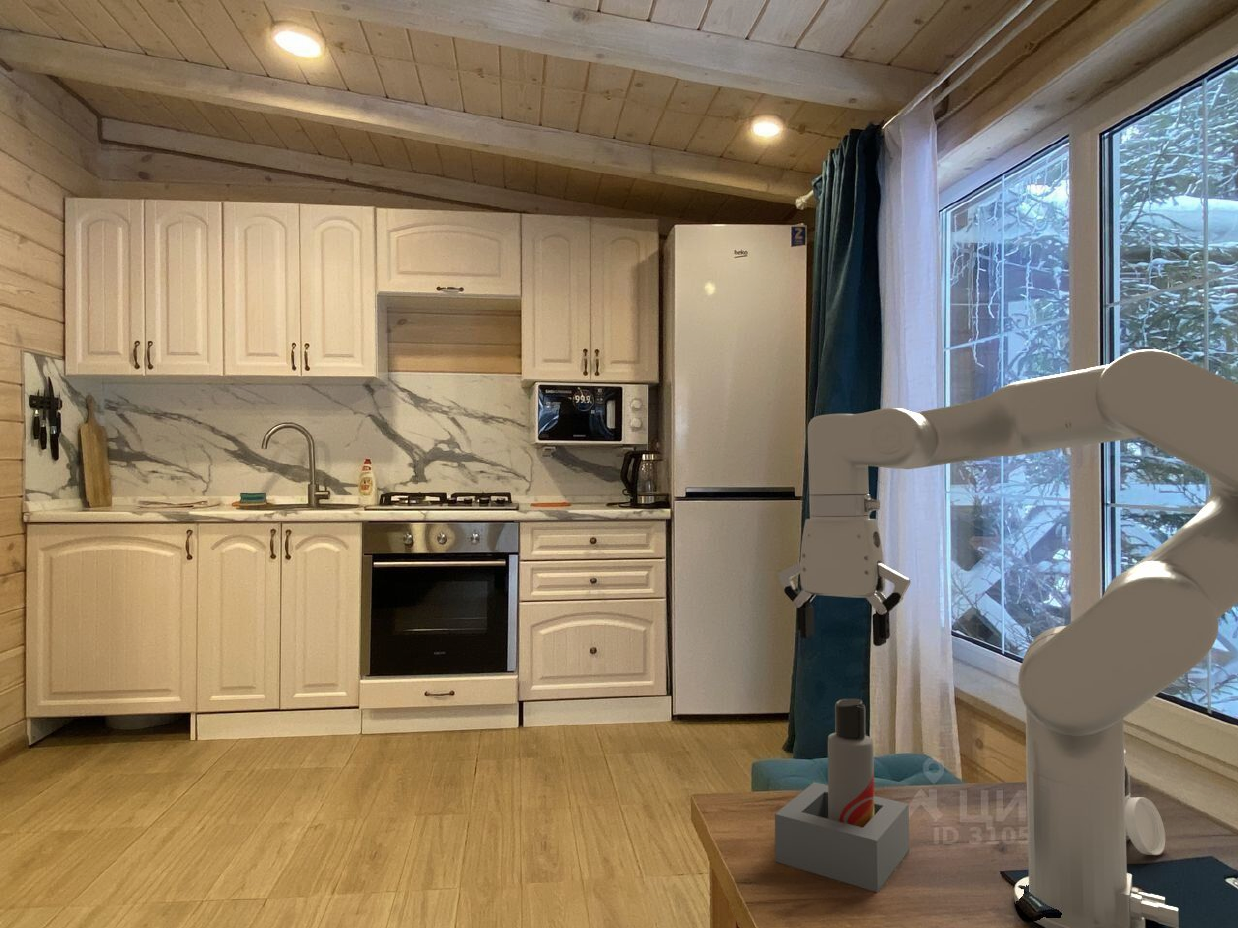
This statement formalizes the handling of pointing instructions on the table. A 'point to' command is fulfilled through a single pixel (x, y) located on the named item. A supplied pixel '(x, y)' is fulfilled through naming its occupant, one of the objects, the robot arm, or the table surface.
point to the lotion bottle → (850, 766)
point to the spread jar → (1142, 822)
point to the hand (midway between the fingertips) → (842, 640)
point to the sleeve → (841, 839)
